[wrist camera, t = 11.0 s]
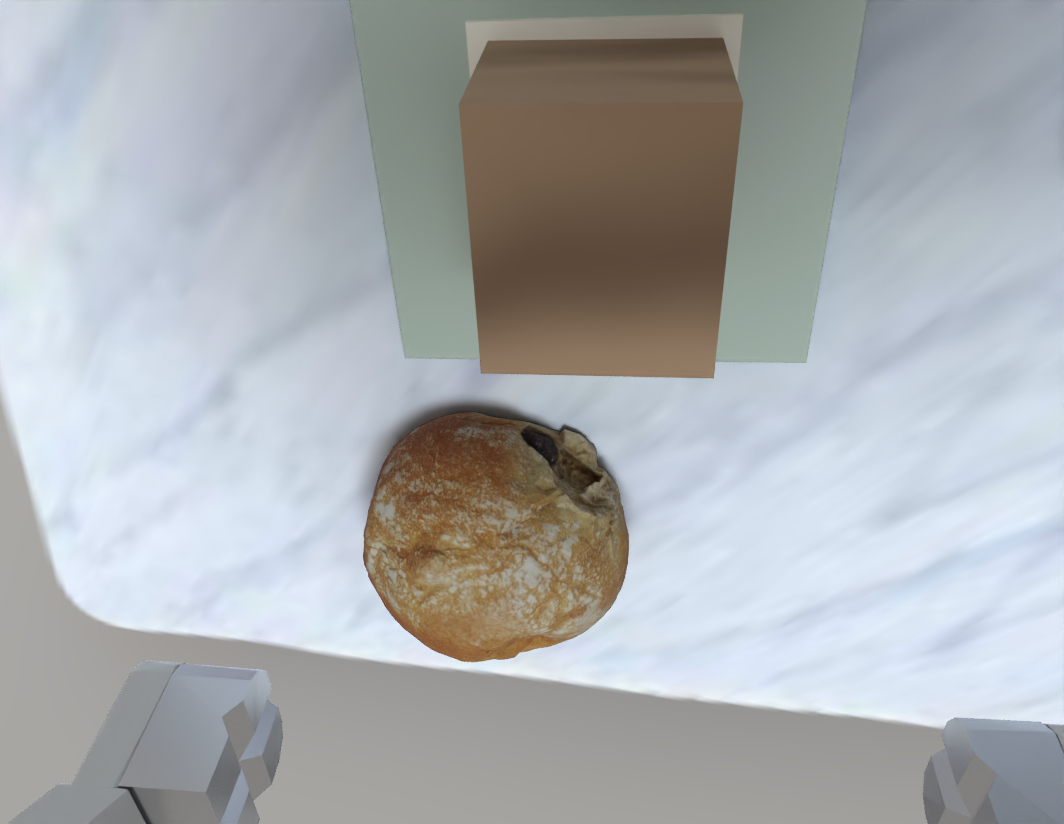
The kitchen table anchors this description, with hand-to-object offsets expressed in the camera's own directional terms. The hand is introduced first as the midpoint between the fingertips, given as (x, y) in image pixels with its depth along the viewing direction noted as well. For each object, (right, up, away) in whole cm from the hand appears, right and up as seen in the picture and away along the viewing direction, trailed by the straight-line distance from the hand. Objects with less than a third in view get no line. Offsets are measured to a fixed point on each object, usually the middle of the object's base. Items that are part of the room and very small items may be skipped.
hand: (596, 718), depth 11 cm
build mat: (+1, +11, +15) cm, 19 cm away
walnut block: (+1, +10, +14) cm, 18 cm away
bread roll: (-2, 0, +24) cm, 24 cm away
